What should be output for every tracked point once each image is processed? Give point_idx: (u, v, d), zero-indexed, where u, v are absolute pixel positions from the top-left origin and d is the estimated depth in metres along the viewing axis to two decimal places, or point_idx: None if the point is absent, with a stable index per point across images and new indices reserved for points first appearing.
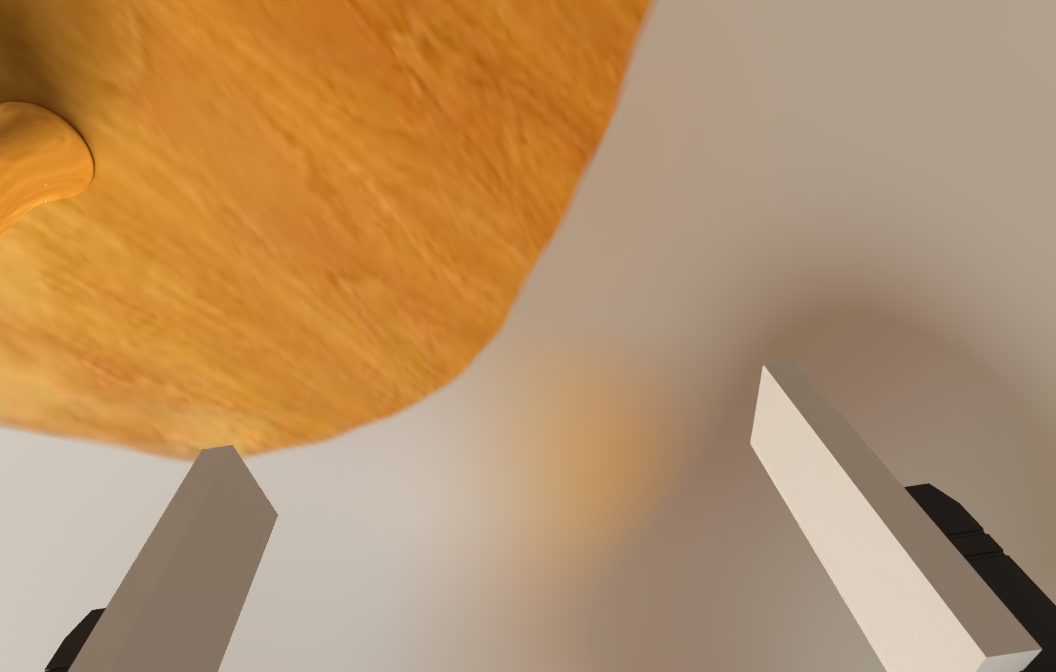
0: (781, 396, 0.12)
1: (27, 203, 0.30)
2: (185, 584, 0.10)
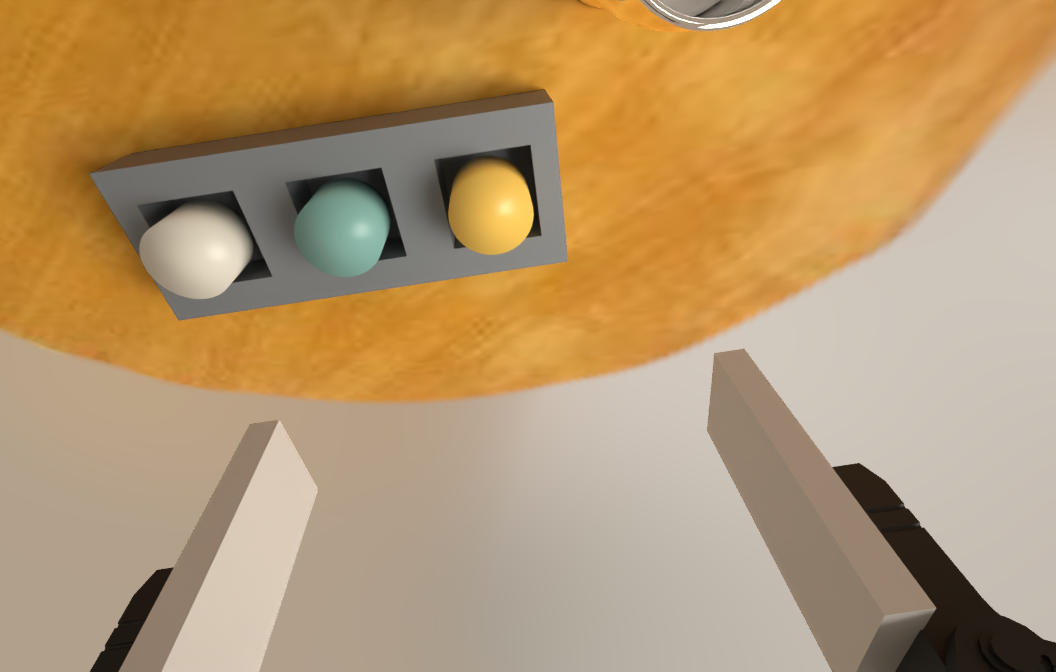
0: (729, 383, 0.12)
1: None
2: (244, 546, 0.11)
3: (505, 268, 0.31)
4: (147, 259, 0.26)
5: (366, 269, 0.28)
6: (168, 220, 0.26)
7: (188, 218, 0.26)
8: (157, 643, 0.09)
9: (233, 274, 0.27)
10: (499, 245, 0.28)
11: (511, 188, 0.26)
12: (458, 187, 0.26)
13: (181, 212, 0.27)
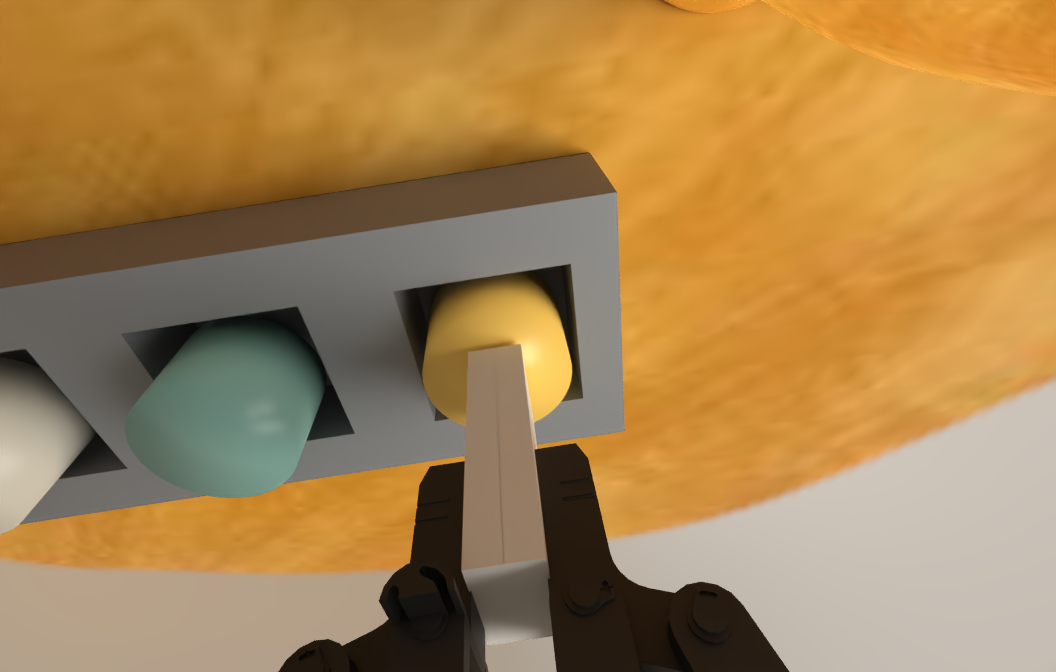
0: (495, 374, 0.14)
1: None
2: None
3: None
4: None
5: (273, 486, 0.15)
6: None
7: None
8: (485, 509, 0.10)
9: (29, 500, 0.15)
10: None
11: (534, 335, 0.14)
12: (439, 336, 0.14)
13: None
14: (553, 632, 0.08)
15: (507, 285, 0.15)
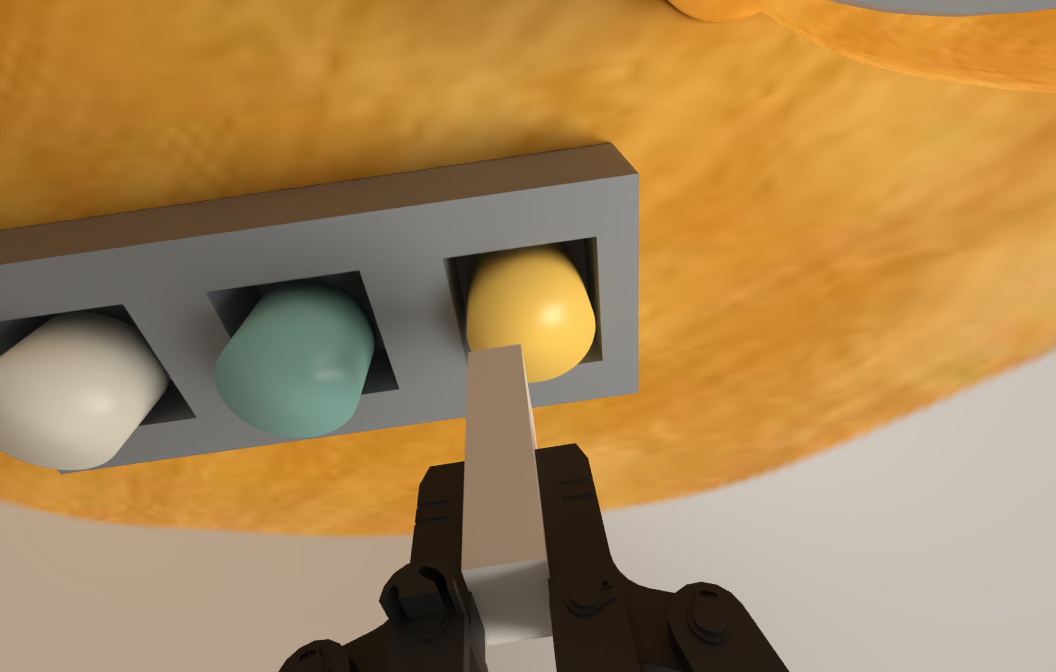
0: (496, 373, 0.14)
1: None
2: None
3: (545, 402, 0.21)
4: None
5: (334, 427, 0.18)
6: (3, 364, 0.15)
7: (40, 357, 0.16)
8: (485, 509, 0.10)
9: (122, 436, 0.17)
10: (541, 370, 0.18)
11: (564, 295, 0.17)
12: (483, 294, 0.17)
13: (34, 343, 0.16)
14: (553, 632, 0.08)
15: (540, 253, 0.18)
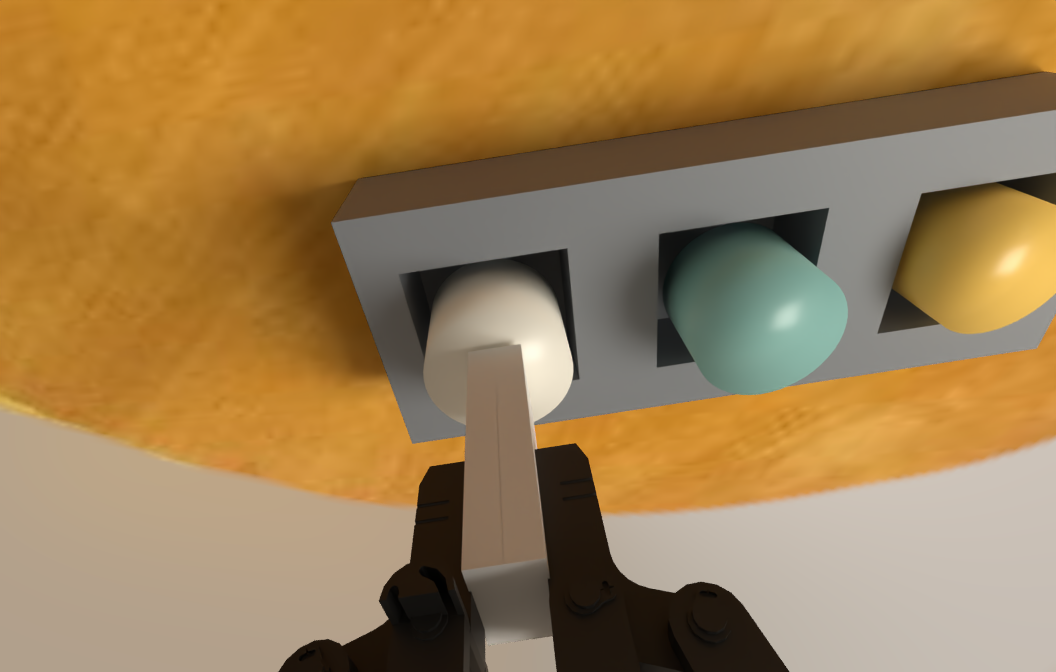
0: (496, 374, 0.14)
1: None
2: None
3: (938, 360, 0.19)
4: (434, 372, 0.15)
5: (789, 382, 0.16)
6: (488, 308, 0.14)
7: (515, 301, 0.14)
8: (485, 509, 0.10)
9: None
10: (991, 320, 0.17)
11: None
12: (982, 230, 0.15)
13: (490, 288, 0.15)
14: (553, 632, 0.08)
15: (1011, 189, 0.16)
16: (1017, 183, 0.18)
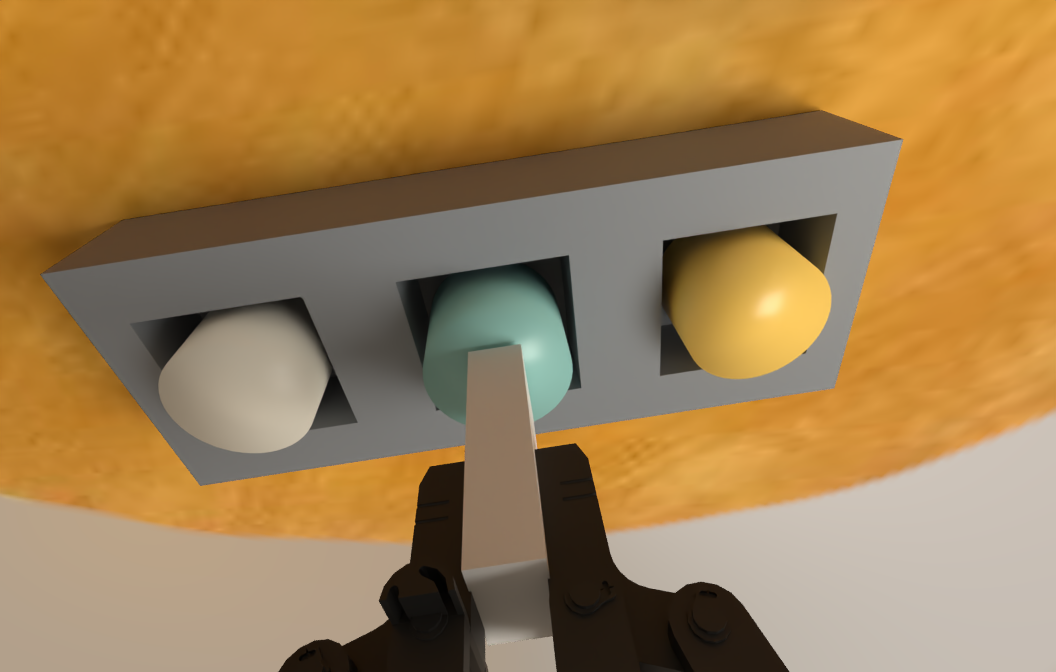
0: (496, 374, 0.14)
1: None
2: None
3: (733, 400, 0.19)
4: (172, 400, 0.15)
5: (535, 418, 0.16)
6: (209, 339, 0.15)
7: (243, 332, 0.15)
8: (485, 509, 0.10)
9: (314, 416, 0.16)
10: (756, 365, 0.17)
11: (806, 280, 0.15)
12: (716, 279, 0.15)
13: (229, 318, 0.16)
14: (553, 632, 0.08)
15: (764, 234, 0.16)
16: (795, 223, 0.17)
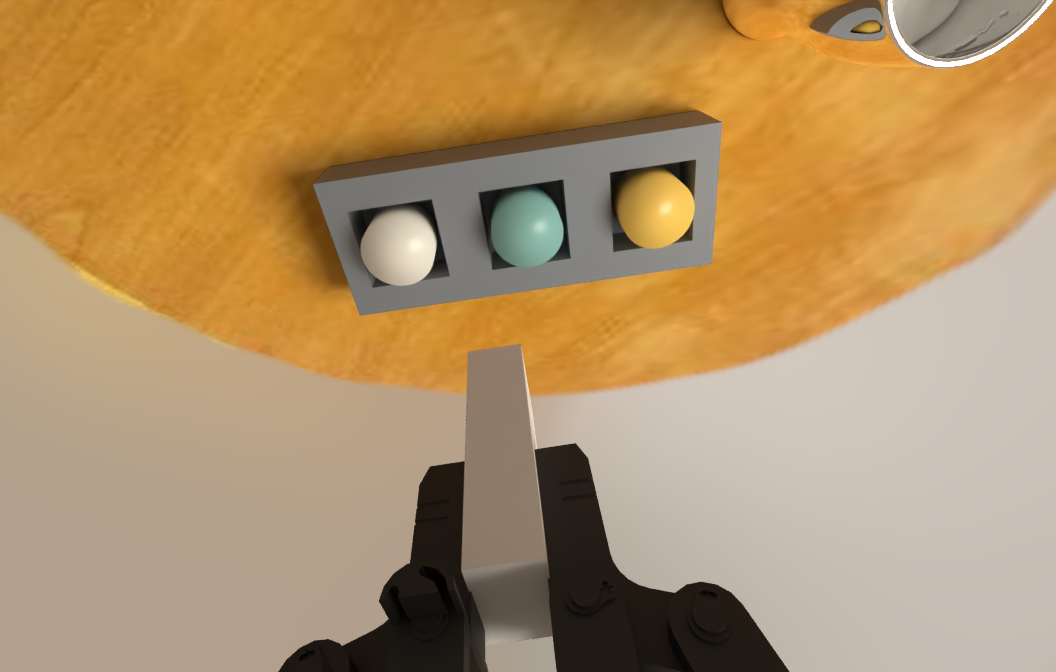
0: (496, 374, 0.14)
1: None
2: None
3: (655, 270, 0.34)
4: (365, 250, 0.31)
5: (545, 260, 0.32)
6: (389, 217, 0.30)
7: (403, 215, 0.31)
8: (485, 509, 0.10)
9: (432, 264, 0.32)
10: (660, 240, 0.32)
11: (679, 191, 0.30)
12: (635, 190, 0.30)
13: (394, 211, 0.31)
14: (553, 632, 0.08)
15: (662, 171, 0.31)
16: (684, 169, 0.33)
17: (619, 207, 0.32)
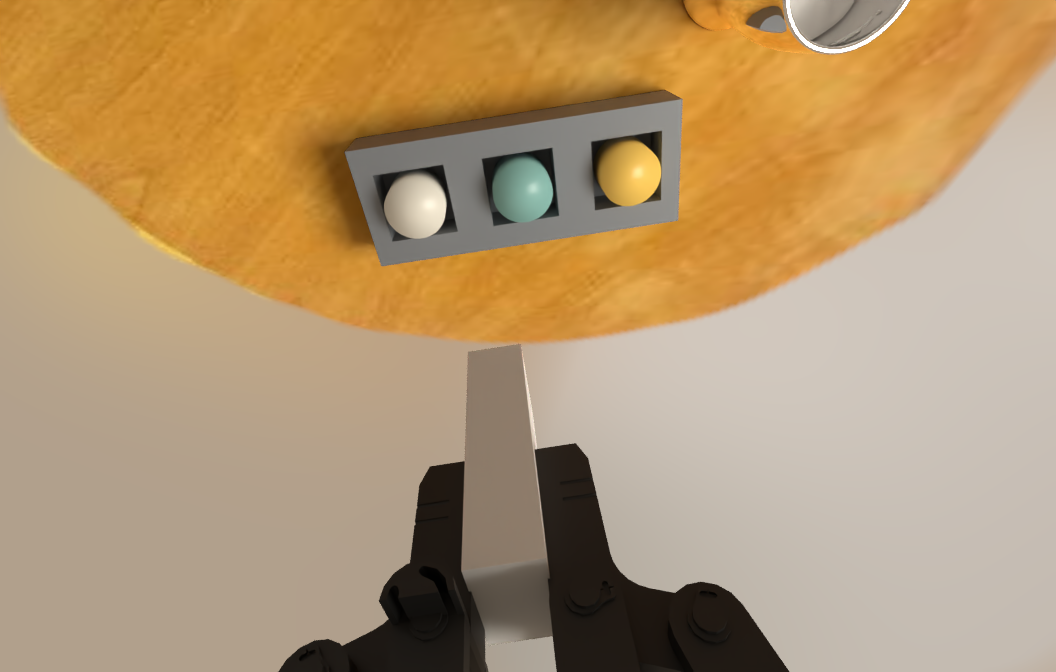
0: (496, 373, 0.14)
1: None
2: None
3: (630, 226, 0.41)
4: (388, 208, 0.37)
5: (537, 216, 0.39)
6: (408, 179, 0.36)
7: (419, 178, 0.37)
8: (485, 509, 0.10)
9: (443, 220, 0.38)
10: (633, 199, 0.38)
11: (648, 156, 0.37)
12: (611, 156, 0.37)
13: (411, 175, 0.37)
14: (553, 632, 0.08)
15: (634, 140, 0.38)
16: (654, 140, 0.39)
17: (599, 171, 0.38)
